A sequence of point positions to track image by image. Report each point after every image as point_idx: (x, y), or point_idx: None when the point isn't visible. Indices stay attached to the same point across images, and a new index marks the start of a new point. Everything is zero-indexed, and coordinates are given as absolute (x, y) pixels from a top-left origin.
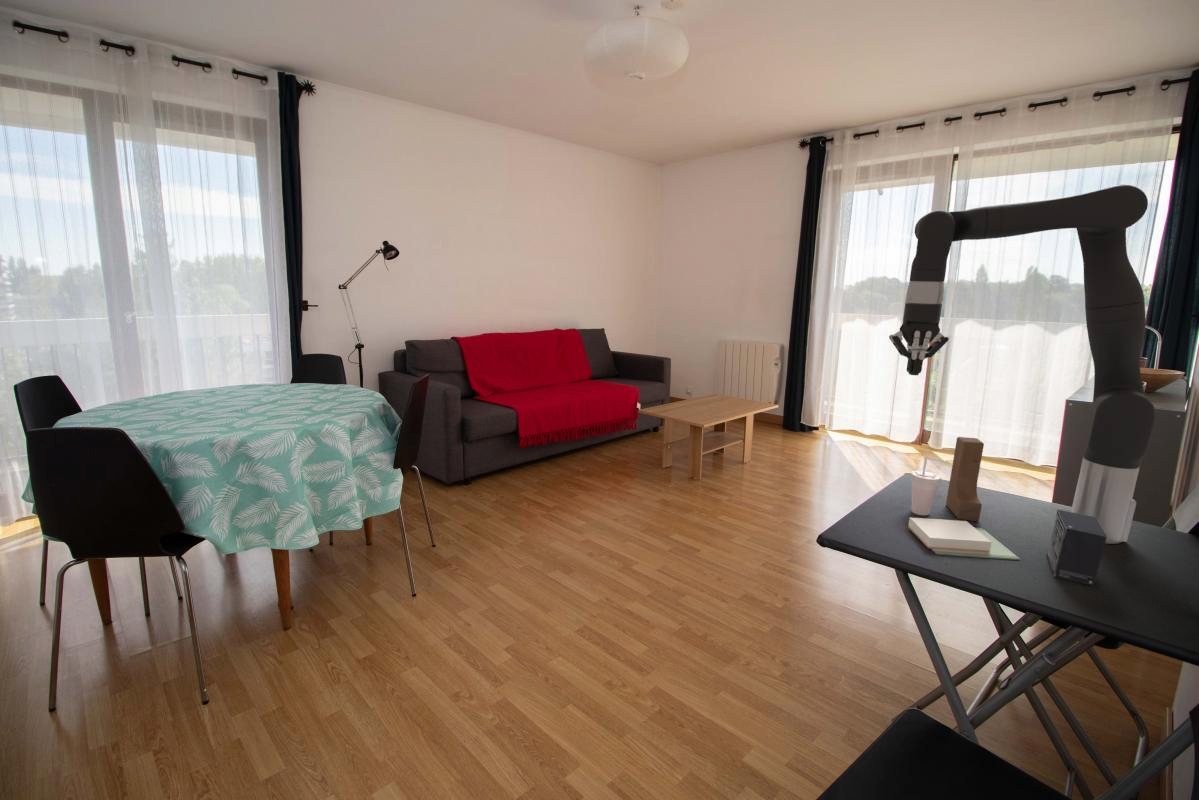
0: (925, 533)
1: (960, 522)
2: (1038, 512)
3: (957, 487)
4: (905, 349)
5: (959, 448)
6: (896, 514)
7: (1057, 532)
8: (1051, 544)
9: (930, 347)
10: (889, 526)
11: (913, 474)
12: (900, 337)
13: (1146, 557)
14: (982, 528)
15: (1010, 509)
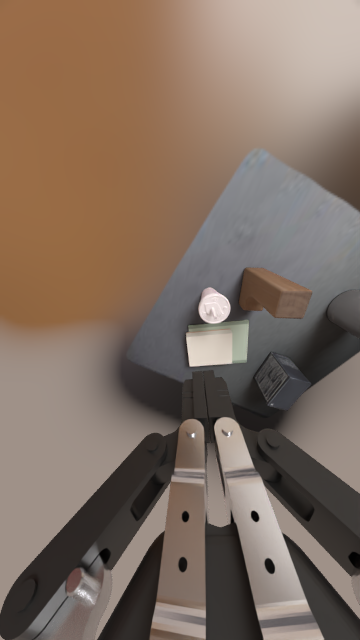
0: (189, 360)
1: (225, 336)
2: (339, 261)
3: (250, 296)
4: (149, 503)
5: (270, 304)
6: (184, 305)
7: (272, 382)
8: (271, 365)
9: (310, 493)
10: (172, 331)
11: (199, 313)
12: (90, 615)
13: (349, 338)
14: (248, 320)
15: (312, 261)
